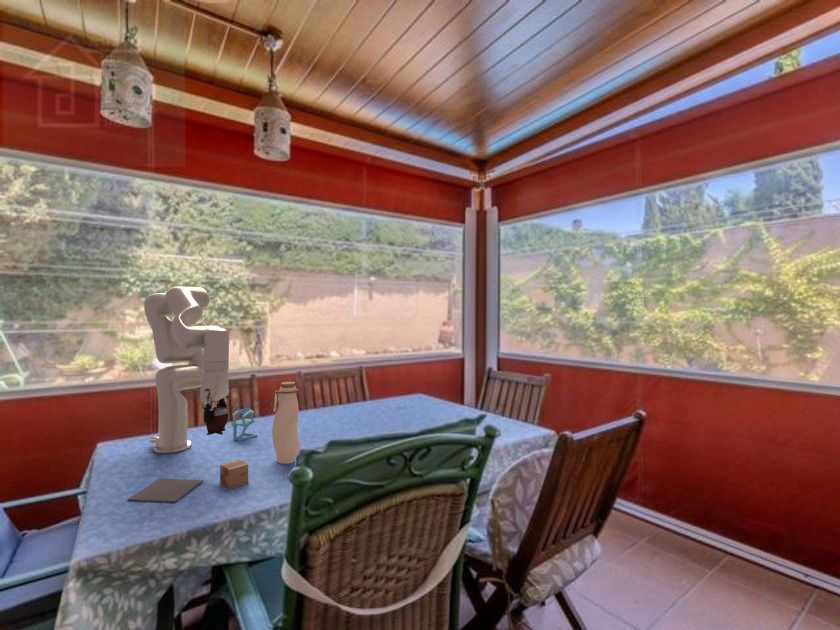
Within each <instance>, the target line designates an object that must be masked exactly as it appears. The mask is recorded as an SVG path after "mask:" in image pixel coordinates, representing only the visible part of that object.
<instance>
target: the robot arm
mask: <svg viewBox="0 0 840 630" xmlns="http://www.w3.org/2000/svg"><path fill="white" fill-rule="evenodd" d="M209 304H210V296H209V293H208V292H207V290H205V289H204V288H202V287H196V286H174V287H171V288H169V289H168V290H167V291H166V292H165V293H164V292H160V293H153V294H152V293H151V294H149V295H147V297H146V298H145V300H144V303H143V305H144V308H143V309H144V313H145V314H144V315H145V317H146V319H147V322H148V324H149V326H150V328H151V331H152V336H153V337H152V338H153V342H154V348H155V349H154V350H155V355H156V358H157V361H158V362H159V363H161V364H166V365H167V364H179V365H171V366H170V365H169V366H165V367H162V368H160V369H158V371H156V373H155V376H154V379H155V385H156V392H157V401H158V406H157V409H158V436H157V435H153V436H151V437H149V438H150V439H149V444H155V445H154V446H153V452H155V453H156V454H157V453H158V454H174V453H178V452H182V451H186V450H188V449H190V448H191V447H192V441H191V440H188V401H187V398H186V397H185V396H184V395H183V394H182V393H181V391H183V390H189V389H190V390H191V389H198V388H200V389H201V390H199V392H200V394H199V399H200V402H199V403H200V405H201V407H202V411H203V423H205V424H206V423H213V422H214V410H213V408H214V407H215V403H216V402H217V403H216V407H224V408H225V409H226V410H227V409H228V408H227V404H228V398H229V394H230V389H229V388H230V386H229V385H230V383H229V382H230V381H229V363H230V362H229V361H230V359H229V358H230V357H229V356H230V354H229V353H230V352H229V351H230V333H229V330H228V329H227V328H221V327H220V326H218V325H202V326H201V325H200V326H199V325H197V326H193V325H194V324H197V323H198V322H199V321H200V320H201V319H202V317H203V313H204V312H203V311H204V310H205V309H206V308H208V306H209ZM168 316H174V318H173V319H170V318H169V317H168ZM180 363H187V364H180ZM208 400H210V401H208ZM209 403H211V406H210V405H209Z"/></svg>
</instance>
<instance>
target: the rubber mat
mask: <svg viewBox="0 0 840 630" xmlns="http://www.w3.org/2000/svg"><path fill="white" fill-rule="evenodd" d="M203 482H204V480H203V479H202V480H201V479H185V478H183V479H182V478H181V479H180V478H159V479H157V480H155V481H154V482H153V483H151V484H149V485H147V486H146V487H145V488H143V489H141V490H140V491H138V492H136V493H135V494H134V495H132V496H130V497H129V498H127V501H128V500H138V501H137V502H144V501H161V502H160V503H167V502H176V503H177V502H179V501H180V500H181V499H182V497H183V496H184V495H185V496H187V495H188V494H189V493H191V492H192V491H194V489H196V488H197V487H198V486H199V485H201V484H202V483H203ZM195 487H196V488H195ZM191 490H192V491H191ZM188 492H189V493H188ZM187 493H188V494H187ZM185 496H184V497H185ZM184 497H183V498H184ZM179 499H180V500H179ZM178 500H179V501H178Z"/></svg>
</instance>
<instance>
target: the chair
mask: <svg viewBox="0 0 840 630" xmlns="http://www.w3.org/2000/svg"><path fill="white" fill-rule="evenodd" d="M238 414H241V419H239V420H237V418H236V416H237V415H238ZM254 414H255V411H254V410H253V409H250V408H247V407H246V408H243V409H242V408H241V409H238V410H236V411H235V412H234V413H232V418H233V421H232V422H231V426H232V429H233V434H232V435H233V439H232V441H233V442H236V441H240V442H243V441H246V439H247V440H250V439H254V438H257V437H258V433H250V432H246V431H247V429H248V428H249V426H250V425H252V424H254V423H256V420H255V419H254V418H253V417H254ZM249 415H251V416H250V419H248V418H247V416H249ZM238 426H240V427H242V428H243V429H242V431H241V432H240V433H239V434H238V435H237V432H238V431H237V428H238ZM243 436H244V437H243ZM238 438H239V439H238ZM235 440H236V441H235ZM242 440H243V441H242Z"/></svg>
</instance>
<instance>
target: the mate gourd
mask: <svg viewBox="0 0 840 630" xmlns="http://www.w3.org/2000/svg"><path fill="white" fill-rule="evenodd" d="M197 389H198V390H199V391H200V390H201V388H200V387H198V388H197ZM208 401H211V399H209V400H208ZM208 404H209V405H210V406H211V403H208ZM213 410H214V422H213V423H205V427H206V430H207V433H206V435H207V436H209V435H210V436H211V435H214V434H217V435H220V436H222V435H223V434H224V432H225V431H226V429H227V428H226V425H227V424H228V421H229V413H228V409H227V408H226V409H225V408H224V407H217V406H214V408H213Z"/></svg>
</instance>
